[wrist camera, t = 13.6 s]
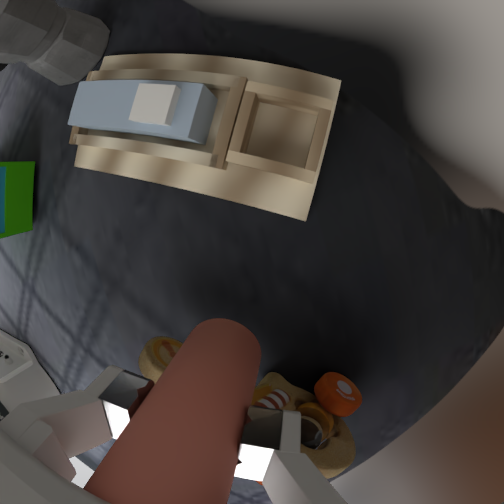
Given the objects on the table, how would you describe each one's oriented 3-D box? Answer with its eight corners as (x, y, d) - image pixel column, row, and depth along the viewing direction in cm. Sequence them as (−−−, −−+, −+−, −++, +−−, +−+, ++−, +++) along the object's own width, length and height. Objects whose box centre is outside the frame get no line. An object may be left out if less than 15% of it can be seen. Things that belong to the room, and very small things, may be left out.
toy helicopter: (320, 429, 27) (321, 528, 14) (157, 346, 28) (85, 432, 14) (367, 384, 25) (394, 491, 12) (186, 286, 26) (99, 370, 12)
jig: (80, 166, 24) (57, 166, 21) (109, 59, 21) (90, 48, 18) (305, 219, 23) (307, 225, 19) (339, 84, 20) (346, 69, 16)
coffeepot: (124, -1, 19) (29, -71, 2) (129, 54, 21) (-1, -18, 4) (35, 62, 22) (-62, 38, 5) (34, 117, 24) (-81, 109, 7)
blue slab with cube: (94, 129, 22) (59, 123, 18) (104, 91, 21) (72, 79, 17) (205, 145, 21) (182, 135, 17) (218, 99, 20) (198, 79, 16)
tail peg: (181, 364, 11) (87, 513, 4) (198, 306, 11) (68, 475, 3) (247, 389, 11) (198, 560, 3) (272, 335, 10) (230, 545, 3)
